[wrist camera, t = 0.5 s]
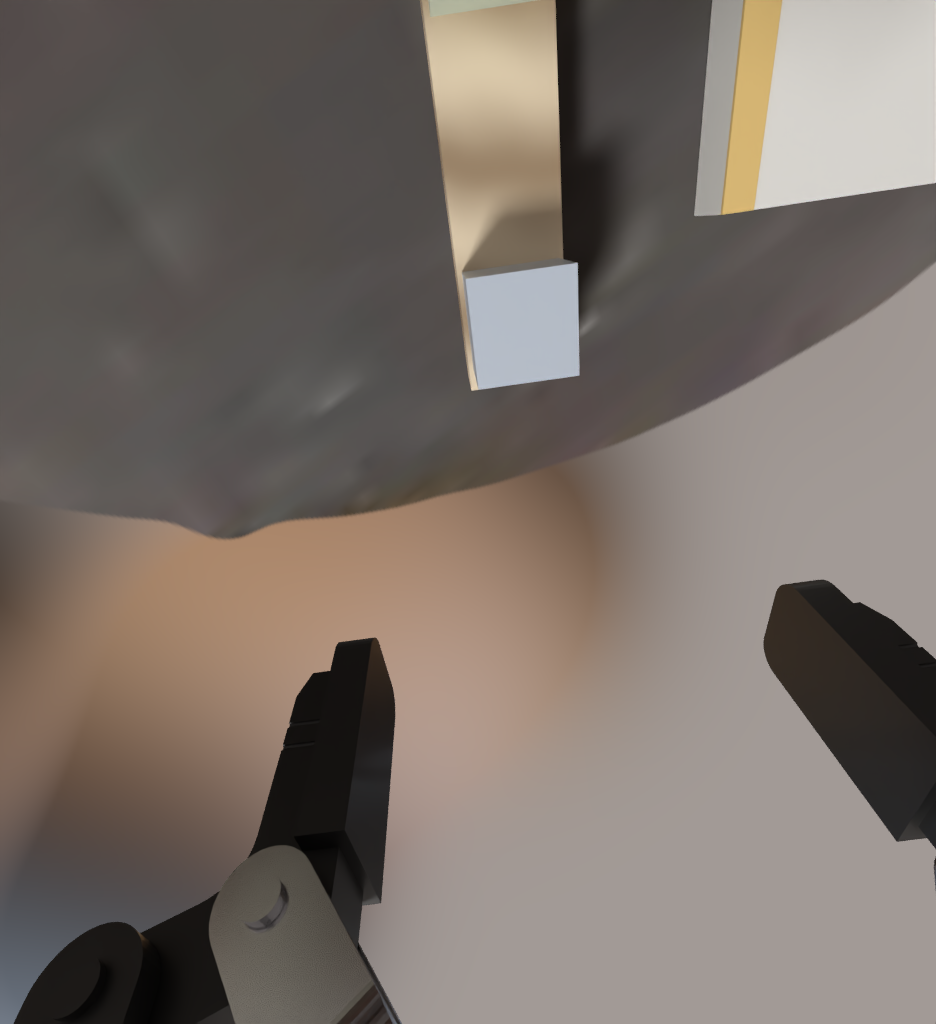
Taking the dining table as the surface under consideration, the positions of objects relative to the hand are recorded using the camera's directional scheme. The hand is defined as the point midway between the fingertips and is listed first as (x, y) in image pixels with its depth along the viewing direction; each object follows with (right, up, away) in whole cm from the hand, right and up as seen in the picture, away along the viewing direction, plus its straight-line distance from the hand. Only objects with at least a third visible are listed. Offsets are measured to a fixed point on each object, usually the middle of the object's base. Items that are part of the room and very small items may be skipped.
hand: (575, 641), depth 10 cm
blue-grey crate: (0, +13, +17) cm, 21 cm away
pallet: (-1, +21, +16) cm, 27 cm away
